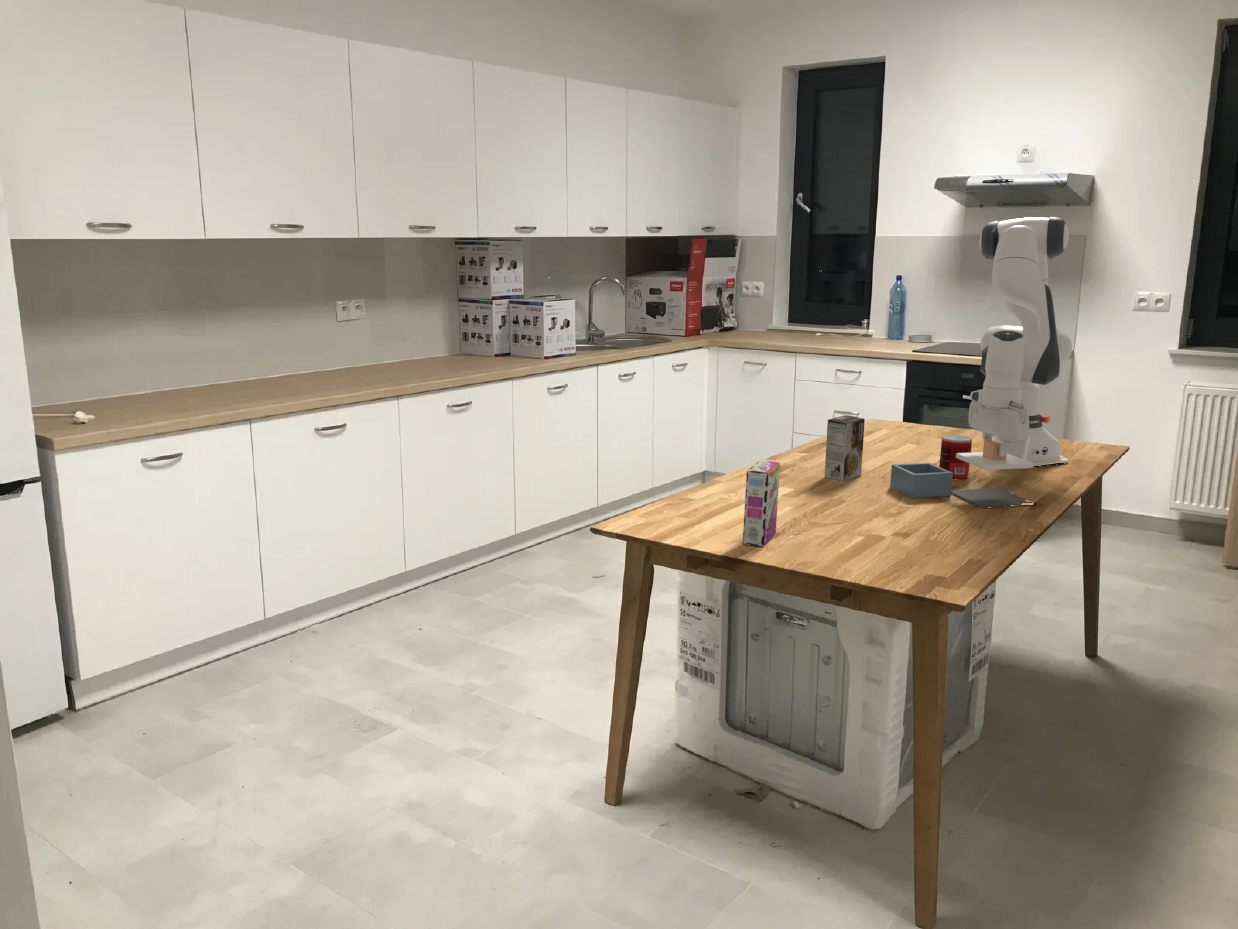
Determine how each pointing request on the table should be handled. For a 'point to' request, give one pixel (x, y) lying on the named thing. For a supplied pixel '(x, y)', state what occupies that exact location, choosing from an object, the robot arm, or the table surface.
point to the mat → (989, 497)
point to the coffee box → (844, 447)
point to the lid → (993, 458)
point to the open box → (921, 480)
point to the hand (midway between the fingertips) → (995, 453)
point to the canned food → (948, 455)
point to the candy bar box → (761, 502)
